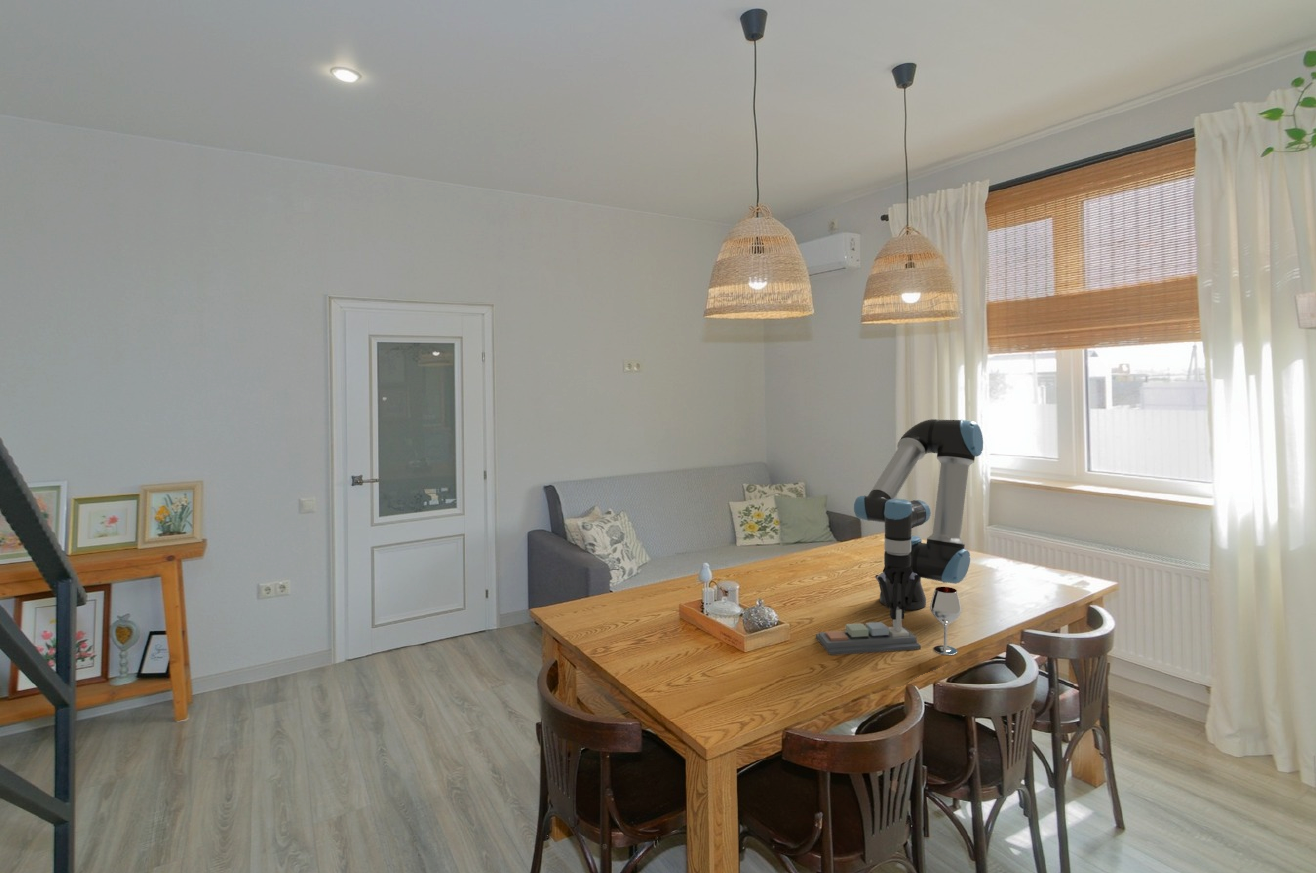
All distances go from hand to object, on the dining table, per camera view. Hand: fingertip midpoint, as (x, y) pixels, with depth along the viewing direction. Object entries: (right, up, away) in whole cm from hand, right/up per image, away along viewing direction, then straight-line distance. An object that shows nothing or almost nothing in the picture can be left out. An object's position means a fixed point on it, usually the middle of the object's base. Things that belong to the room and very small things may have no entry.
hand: (897, 629), depth 201 cm
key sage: (-12, -1, -1) cm, 12 cm away
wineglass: (+11, -4, -7) cm, 14 cm away
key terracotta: (-18, -3, -1) cm, 19 cm away
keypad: (-9, -4, 0) cm, 10 cm away
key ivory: (0, -2, 0) cm, 2 cm away
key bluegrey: (-6, -1, 0) cm, 6 cm away
